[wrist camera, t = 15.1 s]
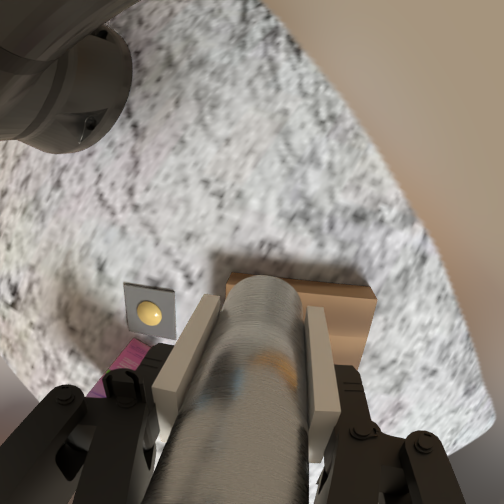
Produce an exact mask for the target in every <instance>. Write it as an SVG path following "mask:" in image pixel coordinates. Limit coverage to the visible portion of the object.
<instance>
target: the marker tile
mask: <svg viewBox="0 0 504 504" xmlns="http://www.w3.org/2000/svg"><path fill="white" fill-rule="evenodd" d="M124 290H125V301H126V310H127V319H128V328H129V331H132V332H137V333H142V334H146V335H151V336H156V337H162V338H167V339H172V340H176V317H175V292H173V291H166V290H160V289H153V288H147V287H140V286H134V285H128V284H125V285H124Z"/></svg>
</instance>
